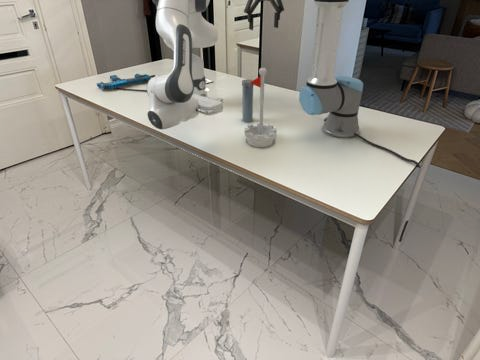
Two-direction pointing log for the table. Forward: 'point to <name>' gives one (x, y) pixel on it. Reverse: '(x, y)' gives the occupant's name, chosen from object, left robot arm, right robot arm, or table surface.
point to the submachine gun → (123, 81)
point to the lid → (247, 83)
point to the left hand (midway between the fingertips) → (213, 97)
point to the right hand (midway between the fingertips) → (263, 28)
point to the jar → (247, 104)
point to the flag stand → (260, 120)
